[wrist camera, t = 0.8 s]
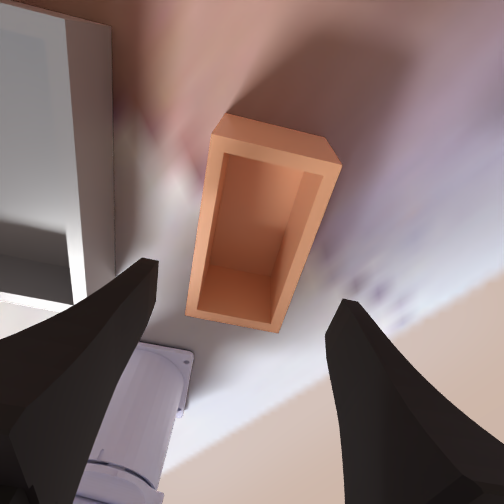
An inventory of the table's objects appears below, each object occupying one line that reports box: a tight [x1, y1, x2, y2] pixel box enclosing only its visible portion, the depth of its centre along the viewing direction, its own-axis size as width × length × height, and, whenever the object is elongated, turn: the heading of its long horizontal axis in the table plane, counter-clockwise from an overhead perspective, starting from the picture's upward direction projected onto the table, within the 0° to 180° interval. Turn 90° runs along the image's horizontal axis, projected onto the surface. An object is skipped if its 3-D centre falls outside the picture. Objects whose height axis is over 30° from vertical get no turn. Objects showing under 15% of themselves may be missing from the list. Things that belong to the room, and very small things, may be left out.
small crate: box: [185, 113, 342, 333], centre depth 17 cm, size 10×5×5 cm, turn 168°
